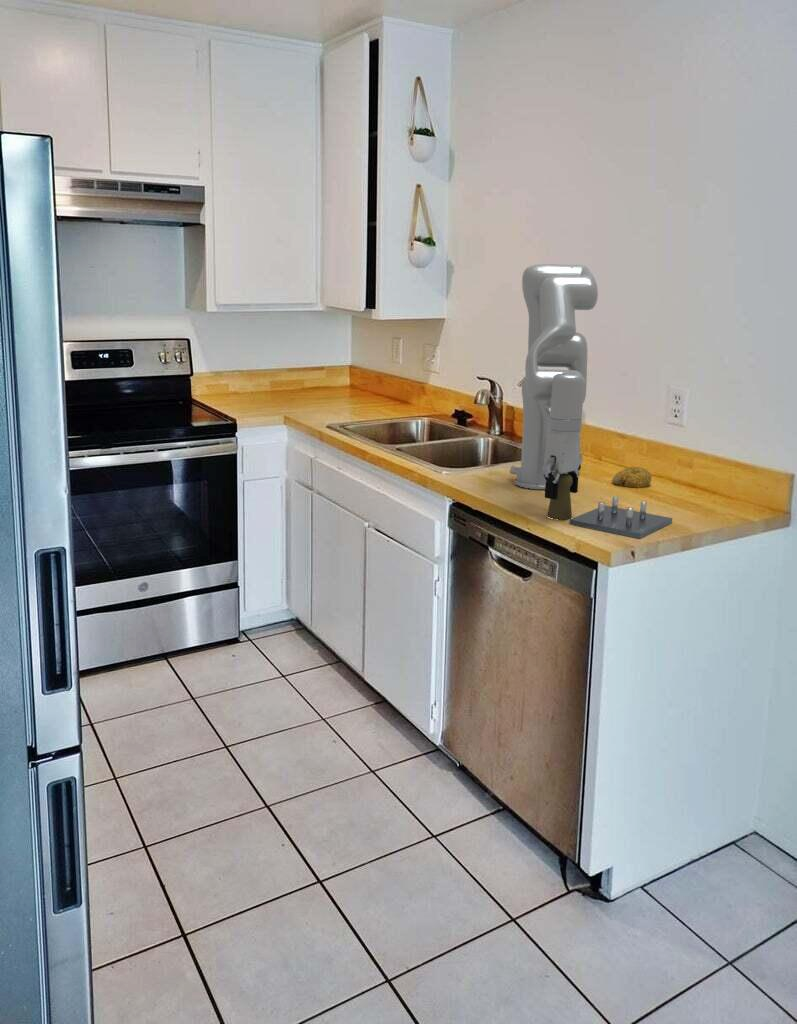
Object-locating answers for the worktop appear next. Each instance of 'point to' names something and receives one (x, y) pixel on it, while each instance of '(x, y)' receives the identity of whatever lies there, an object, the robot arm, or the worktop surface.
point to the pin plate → (621, 520)
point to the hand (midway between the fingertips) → (561, 495)
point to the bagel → (633, 477)
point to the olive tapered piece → (561, 499)
